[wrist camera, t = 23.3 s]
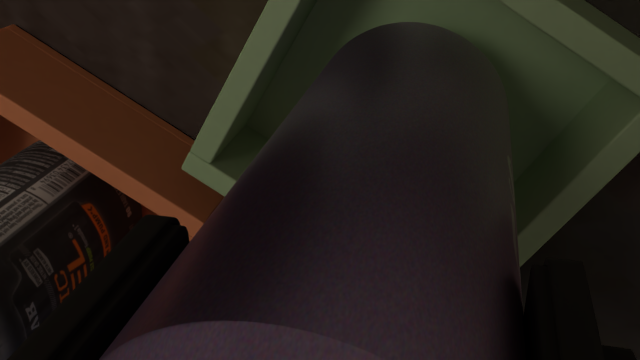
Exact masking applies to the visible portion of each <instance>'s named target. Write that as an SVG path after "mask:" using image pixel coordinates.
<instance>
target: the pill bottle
mask: <svg viewBox="0 0 640 360" xmlns="http://www.w3.org/2000/svg"><path fill="white" fill-rule="evenodd" d="M141 218H142V207H141V204H140V203H138V202H137V201H135V200H134V199H132V198H131V197H129V196H127V195H126V194H124V193H123V192H121V191H120V190H118V189H116V188H115V187H113V186H112V185H110V184H108V183H107V182H105V181H104V180H102V179H101V178H99V177H97V176H96V175H94V174H93V173H91V172H90V171H88V170H86V169H85V168H83V167H82V166H80V165H78V164H77V163H75V162H74V161H72V160H71V159H69V158H67V157H66V156H64V155H63V154H61V153H60V152H58V151H56V150H55V149H53V148H52V147H50V146H48V145H47V144H45V143H44V142H42V141H41V140H39V141H37V142H35V143H33V144H32V145H30V146H28V147H26V148H25V149H23V150H22V151H20V152H18V153H17V154H16V155H14V156H12V157H11V158H9V159H8V160H6V161H5V162H3V163H2V164H0V360H7V359H8V358H9V357H10V356H11V355H12V354H13V353H14V352H15V351H16V350H17V349H18V347H19V346H20V345H21V344H22V343H23V342H24V341H25V340H26V339H27V338H28V337H29V336H30V335H31V334H32V333H33V332H34V331H35V330H36V329H37V328H38V326H39V325H40V324H41V323H42V322H43V321H44V320H45V319H46V318H47V317H48V316H49V315H50V314H51V313H52V312H53V311H54V310H55V309H56V308H57V307H58V305H59V304H60V303H61V302H62V301H63V300H64V299H65V298H66V297H67V296H68V295H69V294H70V293H71V292H72V291H73V290H74V289H75V288H76V287H77V285H78V284H79V283H80V282H81V281H82V280H83V279H84V278H85V277H86V276H87V275H88V274H89V273H90V272H91V271H92V270H93V269H94V268H95V267H96V266H97V264H98V263H99V262H100V261H101V260H102V259H103V258H104V257H105V256H106V255H107V254H108V253H109V252H110V251H111V250H112V249H113V248H114V247H115V246H116V245H117V243H118V242H119V241H120V240H121V239H122V238H123V237H124V236H125V235H126V234H127V233H128V232H129V231H130V230H131V229H132V228H133V227H134V226H135V225H136V224H137V222H138V221H139V220H140V219H141Z"/></svg>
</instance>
